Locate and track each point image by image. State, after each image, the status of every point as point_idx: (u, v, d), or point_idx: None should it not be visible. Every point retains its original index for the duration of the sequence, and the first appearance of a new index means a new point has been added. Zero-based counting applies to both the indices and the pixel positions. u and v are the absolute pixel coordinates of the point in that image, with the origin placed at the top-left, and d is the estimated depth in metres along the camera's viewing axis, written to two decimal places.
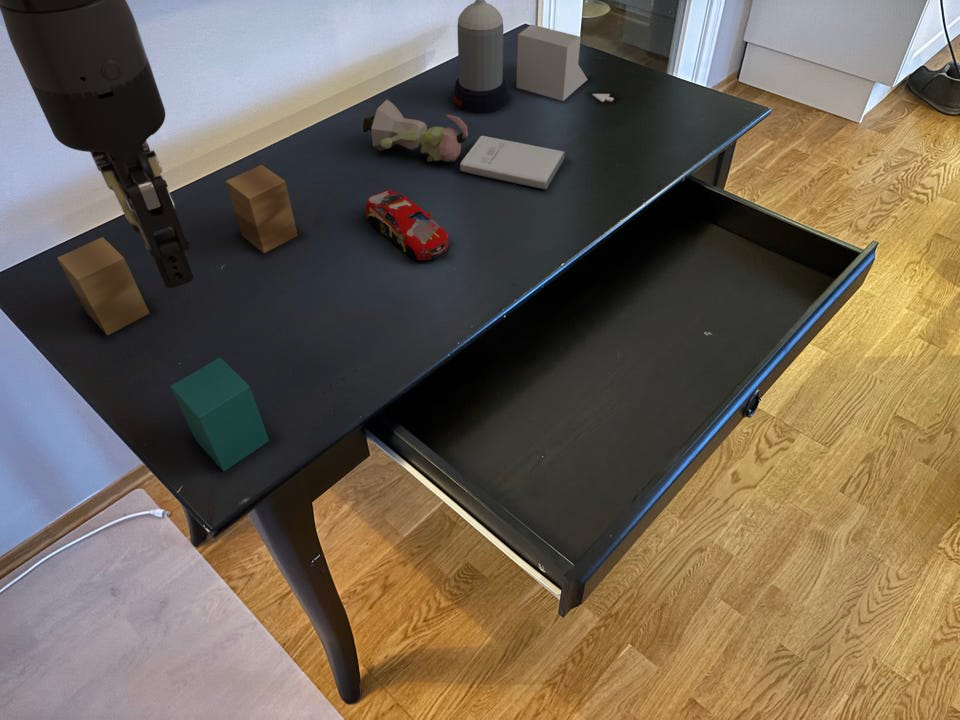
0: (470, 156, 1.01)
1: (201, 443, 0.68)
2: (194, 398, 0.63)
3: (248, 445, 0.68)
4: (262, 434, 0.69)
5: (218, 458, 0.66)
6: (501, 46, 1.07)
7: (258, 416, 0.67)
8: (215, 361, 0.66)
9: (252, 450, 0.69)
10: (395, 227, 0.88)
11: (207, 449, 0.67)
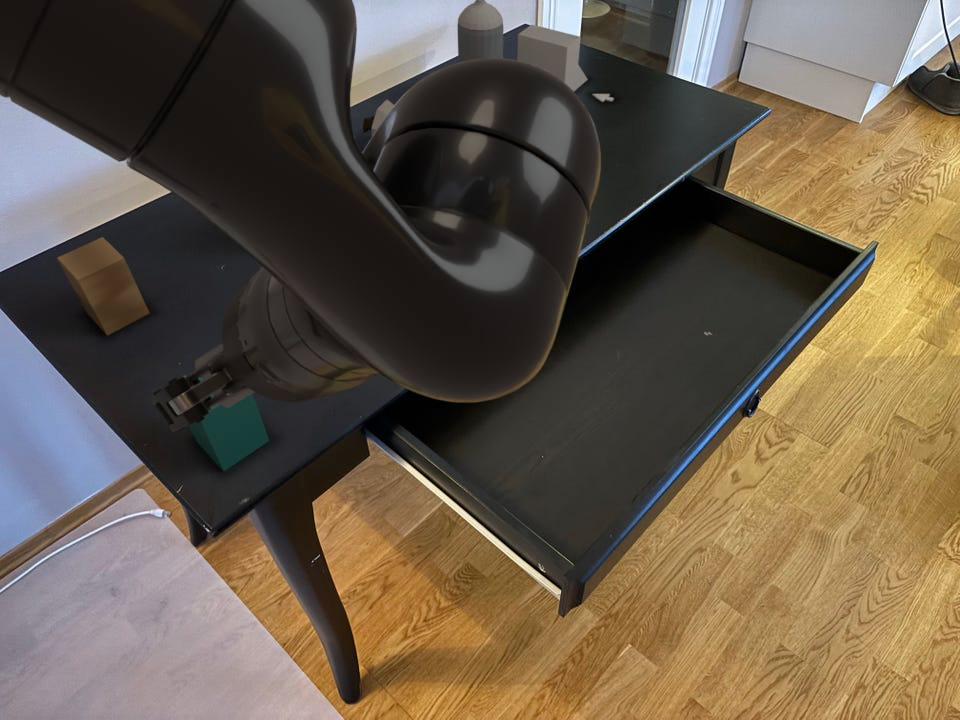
0: None
1: (201, 443, 0.68)
2: None
3: (248, 445, 0.68)
4: (262, 434, 0.69)
5: (218, 458, 0.66)
6: (501, 46, 1.07)
7: (258, 416, 0.67)
8: None
9: (252, 450, 0.69)
10: None
11: (207, 449, 0.67)
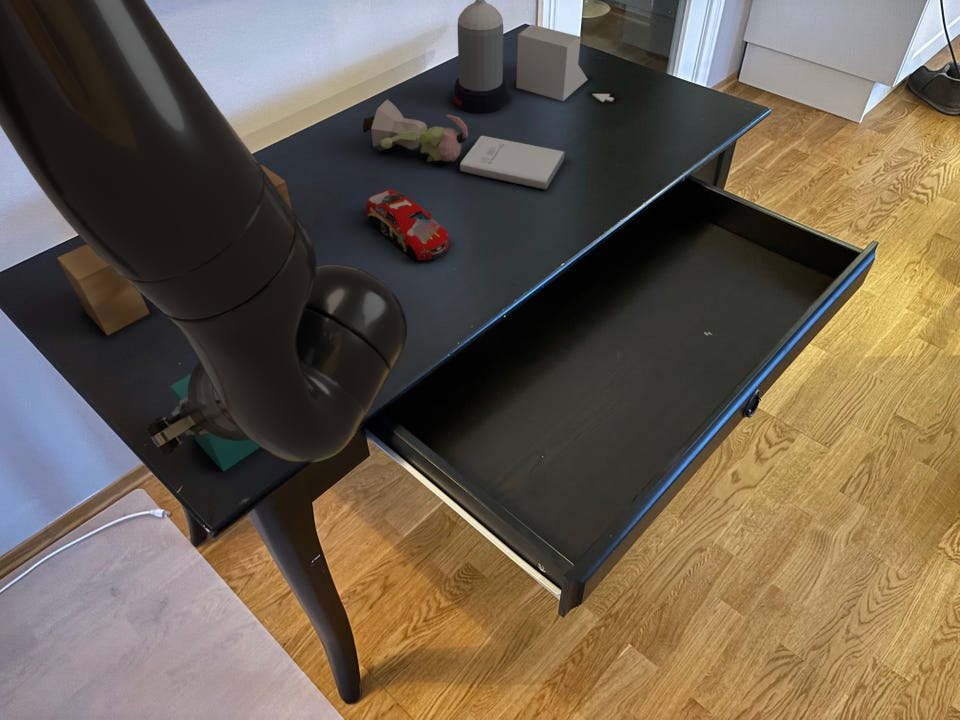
0: (470, 156, 1.01)
1: (201, 443, 0.68)
2: None
3: (248, 445, 0.68)
4: None
5: (218, 458, 0.66)
6: (501, 46, 1.07)
7: None
8: None
9: (252, 450, 0.69)
10: (395, 227, 0.88)
11: (207, 449, 0.67)
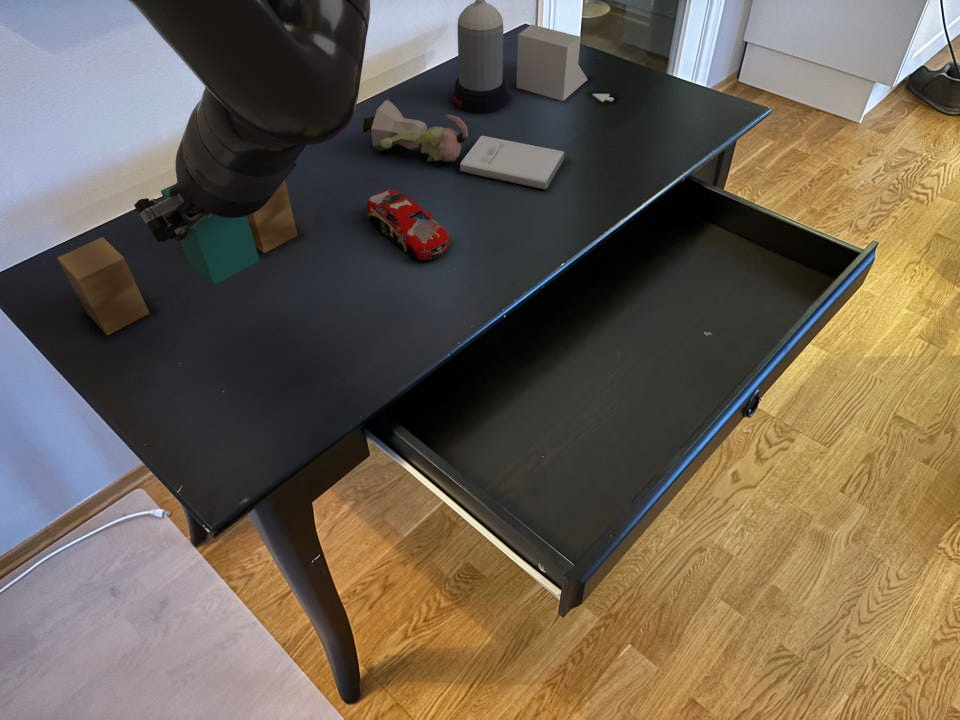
0: (470, 156, 1.01)
1: (192, 258, 0.69)
2: None
3: (238, 260, 0.68)
4: (252, 251, 0.69)
5: (208, 267, 0.67)
6: (501, 46, 1.07)
7: (248, 228, 0.67)
8: None
9: (242, 267, 0.69)
10: (396, 227, 0.88)
11: (198, 262, 0.68)
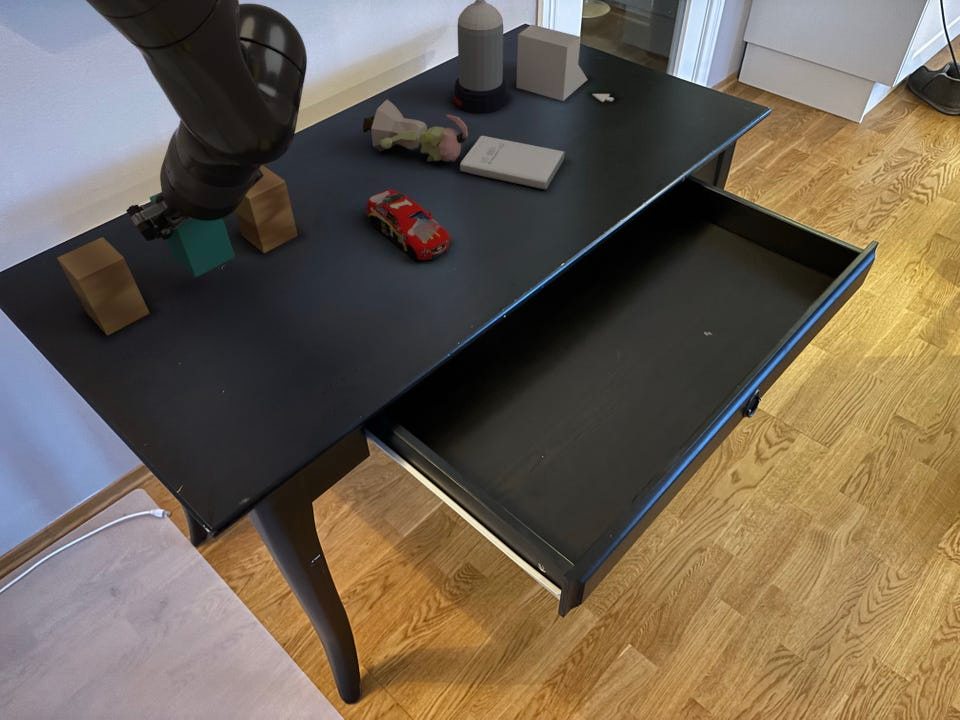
0: (470, 156, 1.01)
1: (177, 255, 0.81)
2: None
3: (216, 256, 0.80)
4: (228, 248, 0.81)
5: (190, 262, 0.78)
6: (501, 46, 1.07)
7: (224, 229, 0.79)
8: None
9: (220, 262, 0.81)
10: (396, 226, 0.88)
11: (181, 258, 0.80)
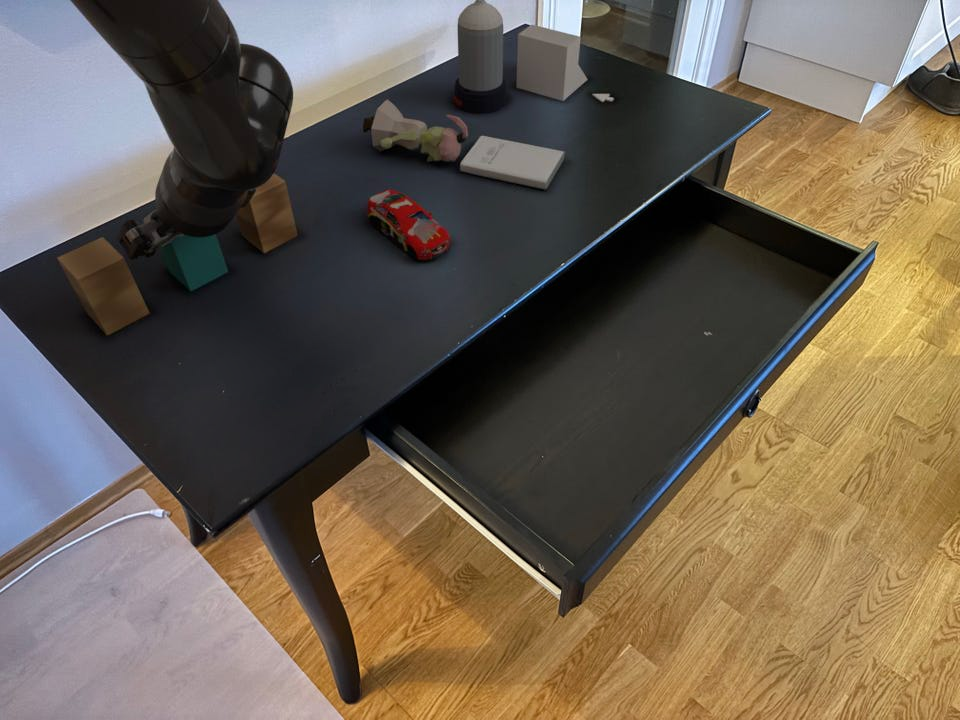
0: (470, 156, 1.01)
1: (173, 270, 0.85)
2: None
3: (210, 271, 0.85)
4: (222, 264, 0.86)
5: (185, 278, 0.83)
6: (501, 46, 1.07)
7: (218, 246, 0.84)
8: None
9: (214, 277, 0.86)
10: (396, 226, 0.88)
11: (177, 273, 0.84)
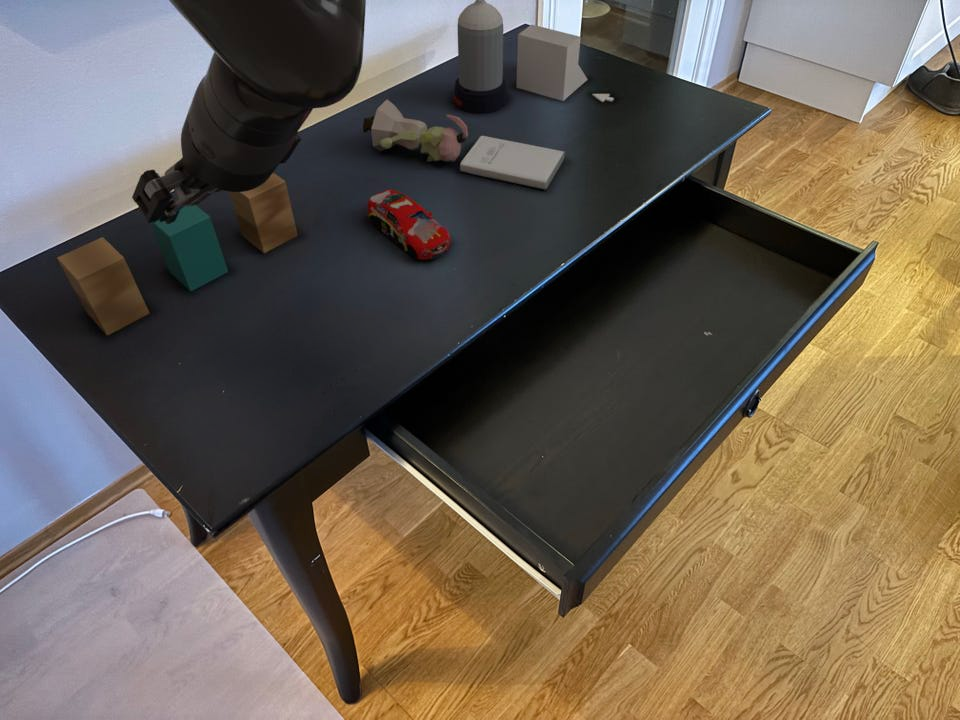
0: (470, 156, 1.01)
1: (173, 270, 0.85)
2: (166, 224, 0.80)
3: (210, 271, 0.85)
4: (222, 264, 0.86)
5: (185, 278, 0.83)
6: (501, 46, 1.07)
7: (218, 246, 0.84)
8: None
9: (214, 277, 0.86)
10: (396, 226, 0.88)
11: (177, 273, 0.84)
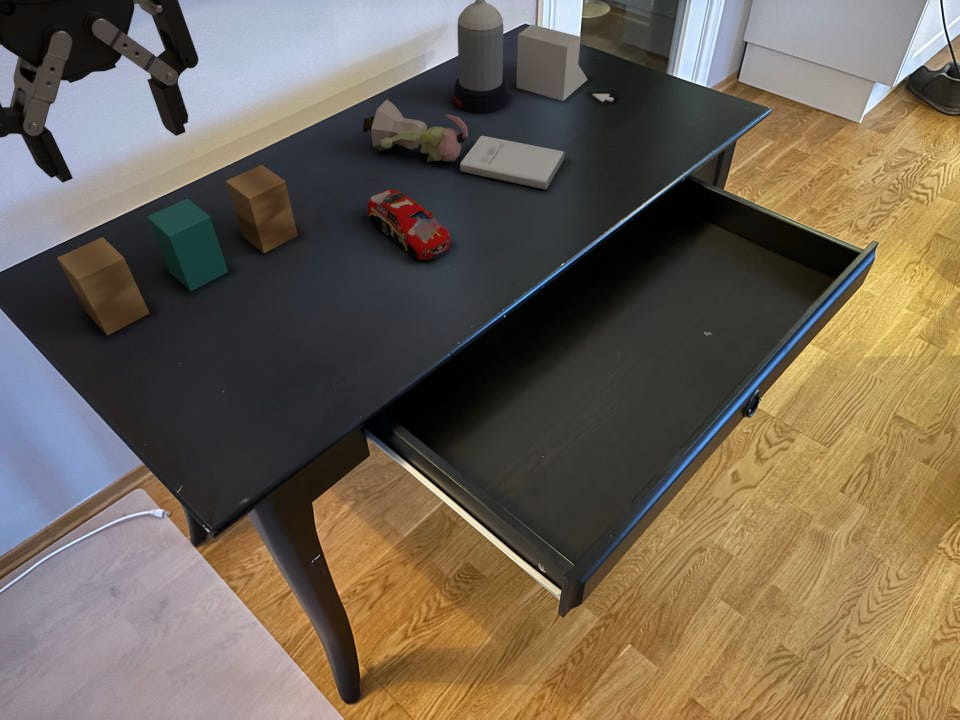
0: (470, 156, 1.01)
1: (173, 270, 0.85)
2: (166, 224, 0.80)
3: (210, 271, 0.85)
4: (222, 264, 0.86)
5: (185, 278, 0.83)
6: (501, 46, 1.07)
7: (218, 246, 0.84)
8: (183, 201, 0.83)
9: (214, 277, 0.86)
10: (397, 226, 0.88)
11: (177, 273, 0.84)
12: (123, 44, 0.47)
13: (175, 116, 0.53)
